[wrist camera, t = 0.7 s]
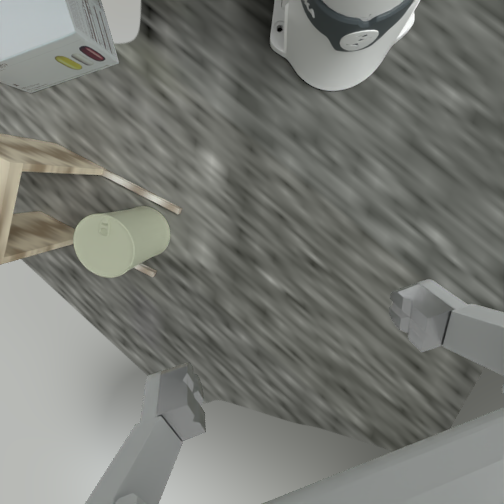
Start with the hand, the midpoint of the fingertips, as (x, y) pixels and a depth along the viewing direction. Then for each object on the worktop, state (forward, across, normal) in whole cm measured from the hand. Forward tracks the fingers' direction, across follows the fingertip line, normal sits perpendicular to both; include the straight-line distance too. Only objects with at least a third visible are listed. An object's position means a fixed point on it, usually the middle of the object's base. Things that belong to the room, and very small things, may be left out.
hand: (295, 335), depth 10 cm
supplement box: (+51, +16, -22) cm, 58 cm away
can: (+39, +15, +9) cm, 43 cm away
